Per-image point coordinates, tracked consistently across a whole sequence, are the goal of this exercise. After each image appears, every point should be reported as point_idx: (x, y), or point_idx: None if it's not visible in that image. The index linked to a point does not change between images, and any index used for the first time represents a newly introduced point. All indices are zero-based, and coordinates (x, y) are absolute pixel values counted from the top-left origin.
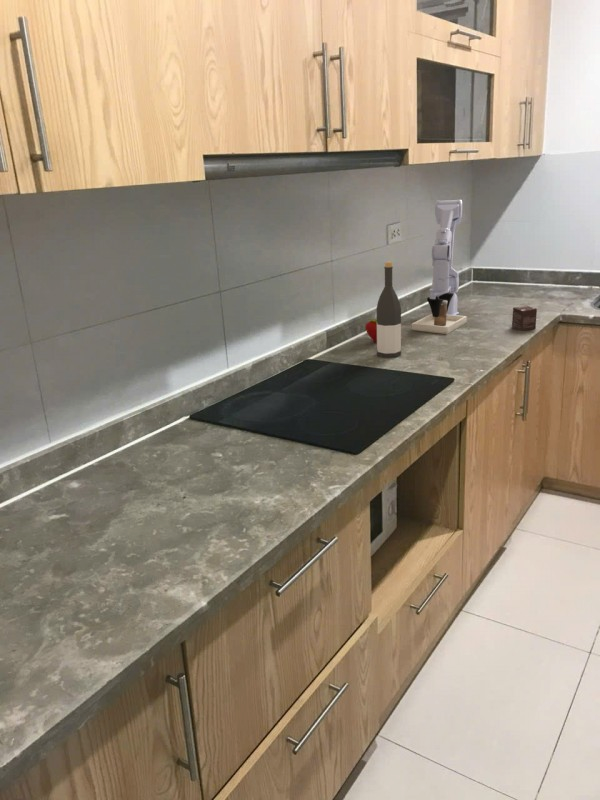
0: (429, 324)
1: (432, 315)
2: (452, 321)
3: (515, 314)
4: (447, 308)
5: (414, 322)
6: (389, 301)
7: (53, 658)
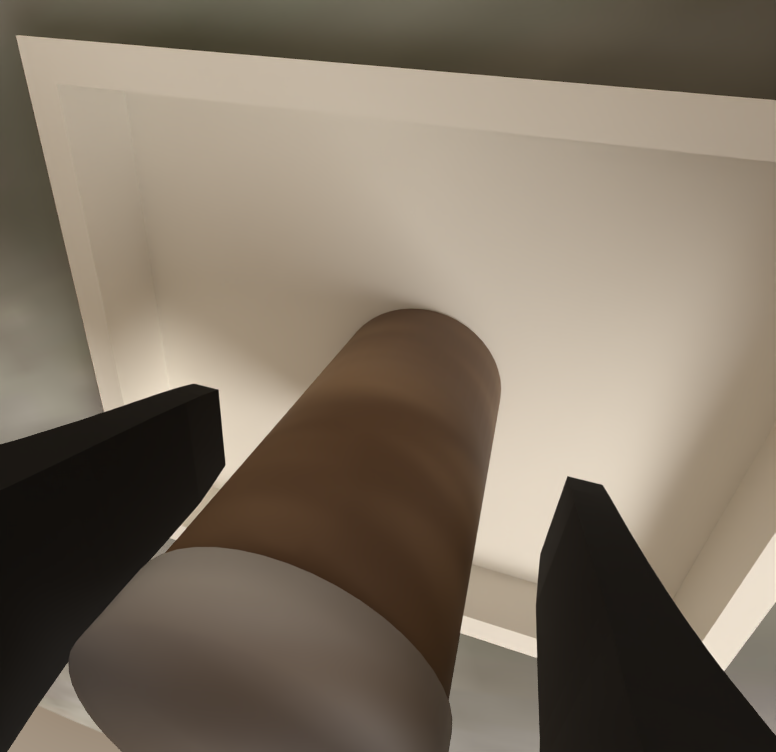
0: (399, 238)
1: (175, 388)
2: (647, 508)
3: None
4: (537, 642)
5: (90, 50)
6: None
7: None
